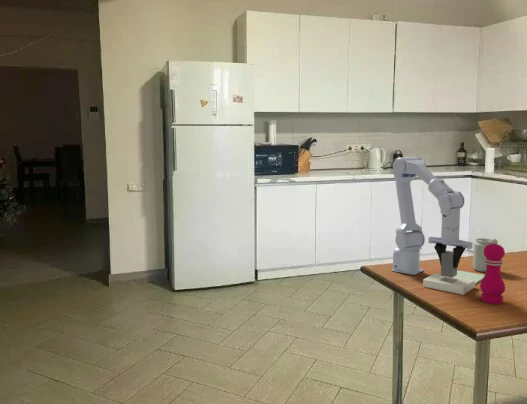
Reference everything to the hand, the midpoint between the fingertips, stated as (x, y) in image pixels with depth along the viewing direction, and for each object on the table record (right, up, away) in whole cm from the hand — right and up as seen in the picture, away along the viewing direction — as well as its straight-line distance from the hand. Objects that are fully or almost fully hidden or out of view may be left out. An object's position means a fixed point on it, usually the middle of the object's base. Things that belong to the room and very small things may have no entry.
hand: (449, 266), depth 170 cm
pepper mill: (+9, -9, -13) cm, 18 cm away
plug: (0, -3, 0) cm, 3 cm away
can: (+21, -4, +20) cm, 29 cm away
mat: (+10, -6, +11) cm, 16 cm away
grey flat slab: (0, -7, +1) cm, 7 cm away
